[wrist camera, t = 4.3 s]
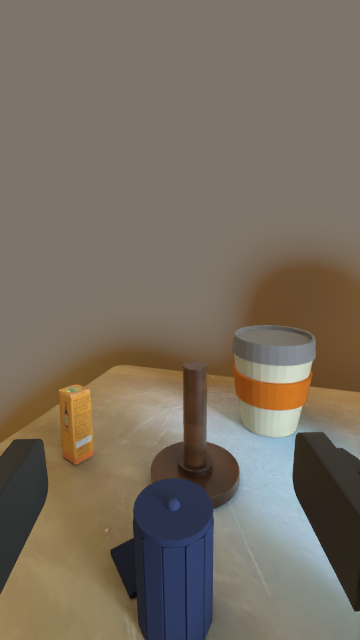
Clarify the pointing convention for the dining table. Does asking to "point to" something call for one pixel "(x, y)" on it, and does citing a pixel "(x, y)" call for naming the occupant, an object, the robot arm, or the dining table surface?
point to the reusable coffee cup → (272, 377)
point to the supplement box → (76, 423)
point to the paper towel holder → (198, 445)
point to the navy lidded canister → (170, 560)
